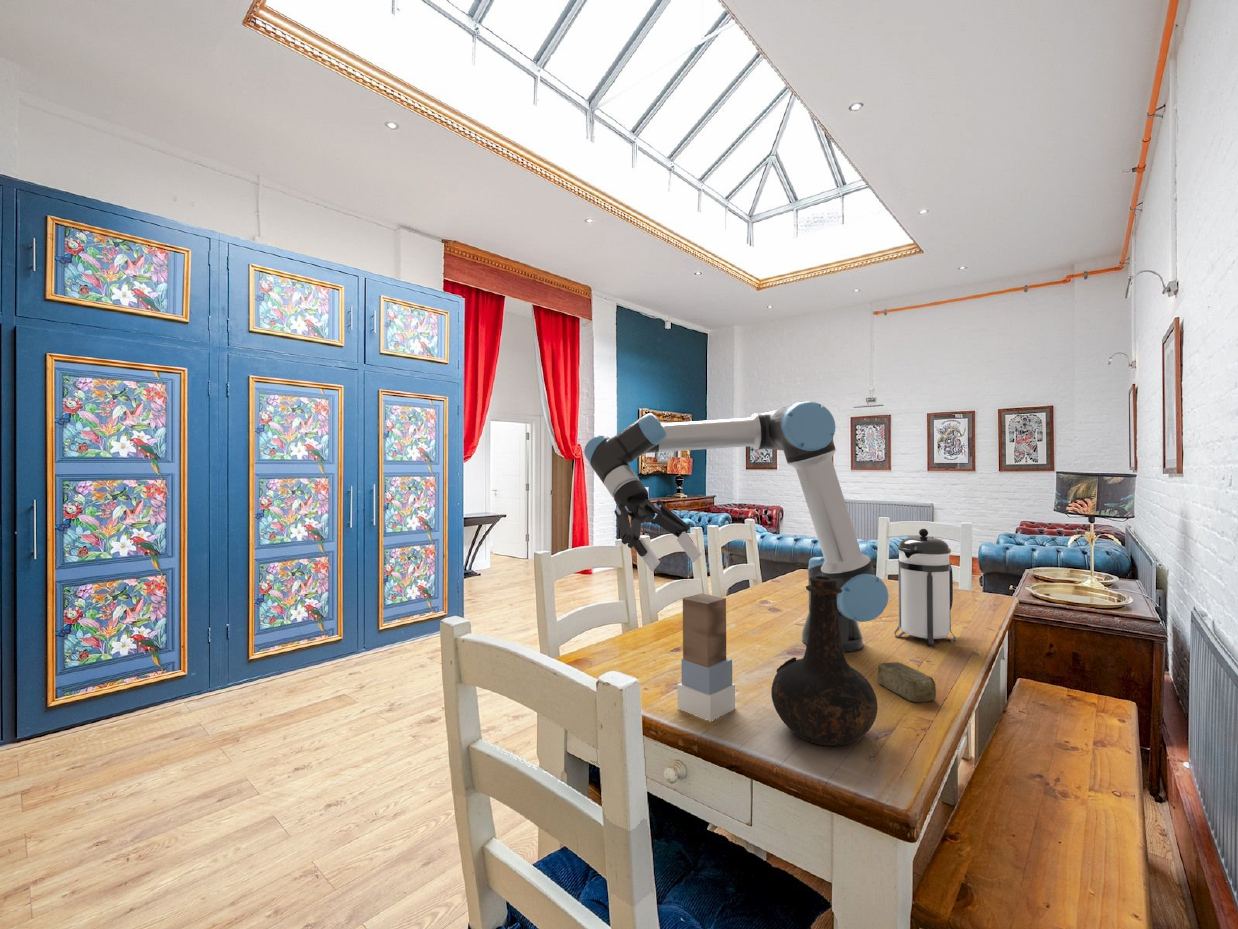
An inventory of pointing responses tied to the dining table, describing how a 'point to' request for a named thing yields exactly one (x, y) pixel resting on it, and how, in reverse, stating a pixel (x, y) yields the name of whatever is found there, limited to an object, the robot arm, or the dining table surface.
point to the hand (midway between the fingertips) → (677, 562)
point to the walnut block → (704, 629)
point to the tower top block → (707, 676)
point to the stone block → (906, 682)
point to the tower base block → (706, 701)
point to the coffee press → (925, 588)
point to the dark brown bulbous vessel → (824, 680)
